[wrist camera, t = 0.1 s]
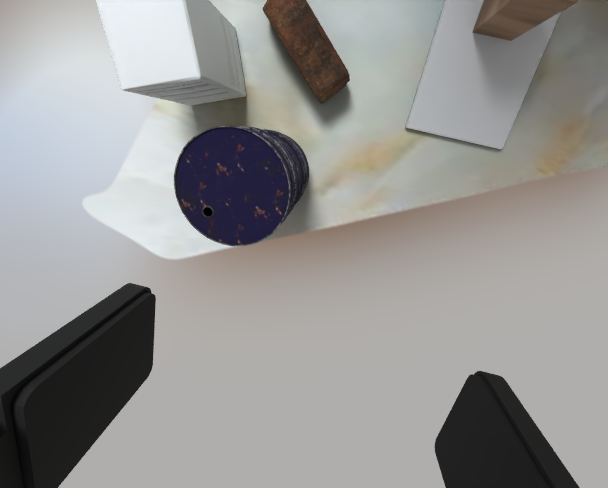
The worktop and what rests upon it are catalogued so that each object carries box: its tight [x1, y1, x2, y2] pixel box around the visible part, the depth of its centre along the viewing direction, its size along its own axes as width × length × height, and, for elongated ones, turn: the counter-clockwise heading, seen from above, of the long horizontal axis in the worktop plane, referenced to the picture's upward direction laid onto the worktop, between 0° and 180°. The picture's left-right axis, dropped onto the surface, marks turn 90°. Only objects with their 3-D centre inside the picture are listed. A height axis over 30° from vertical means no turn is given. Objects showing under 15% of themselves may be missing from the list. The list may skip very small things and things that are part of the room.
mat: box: [405, 0, 561, 149], centre depth 32 cm, size 15×11×1 cm
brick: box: [263, 0, 350, 104], centre depth 31 cm, size 11×4×5 cm, turn 35°
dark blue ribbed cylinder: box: [174, 126, 309, 246], centre depth 31 cm, size 10×10×15 cm
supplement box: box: [96, 0, 246, 105], centre depth 29 cm, size 7×7×13 cm
